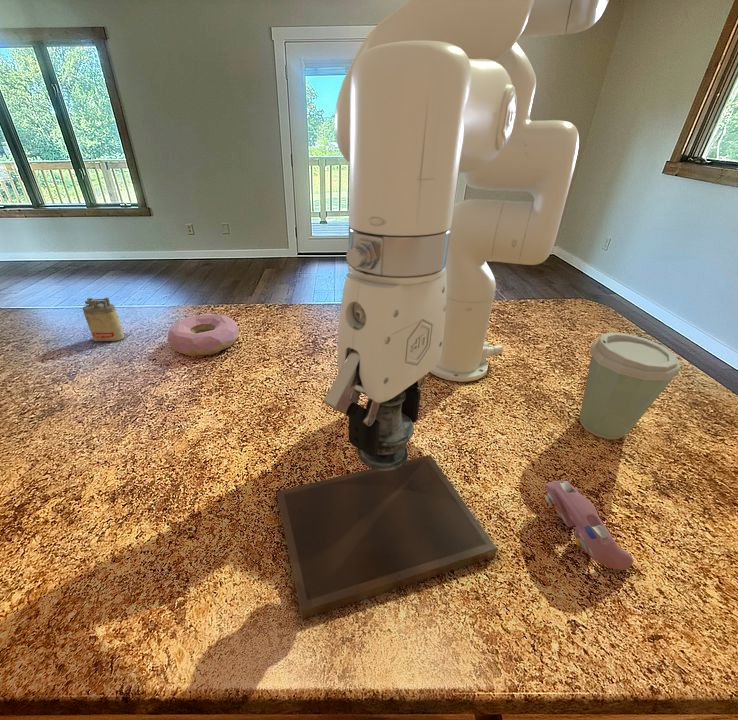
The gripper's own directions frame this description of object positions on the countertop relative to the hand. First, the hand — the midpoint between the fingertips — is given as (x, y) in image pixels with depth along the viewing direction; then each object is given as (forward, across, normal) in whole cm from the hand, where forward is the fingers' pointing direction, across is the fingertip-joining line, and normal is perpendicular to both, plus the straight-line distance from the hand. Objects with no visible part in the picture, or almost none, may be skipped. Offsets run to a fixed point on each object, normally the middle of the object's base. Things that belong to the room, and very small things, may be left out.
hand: (384, 430), depth 38 cm
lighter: (+15, -3, +78) cm, 80 cm away
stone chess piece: (+3, 0, 0) cm, 3 cm away
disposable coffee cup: (+15, +39, -15) cm, 44 cm away
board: (+15, 0, 0) cm, 15 cm away
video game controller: (+15, +15, -18) cm, 28 cm away
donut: (+15, +11, +58) cm, 61 cm away
